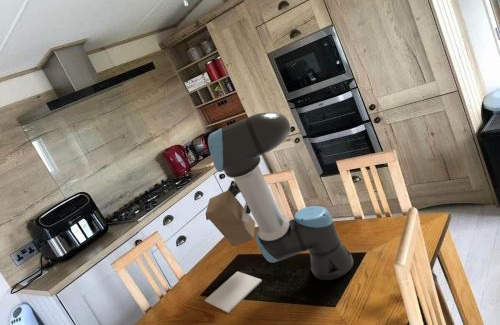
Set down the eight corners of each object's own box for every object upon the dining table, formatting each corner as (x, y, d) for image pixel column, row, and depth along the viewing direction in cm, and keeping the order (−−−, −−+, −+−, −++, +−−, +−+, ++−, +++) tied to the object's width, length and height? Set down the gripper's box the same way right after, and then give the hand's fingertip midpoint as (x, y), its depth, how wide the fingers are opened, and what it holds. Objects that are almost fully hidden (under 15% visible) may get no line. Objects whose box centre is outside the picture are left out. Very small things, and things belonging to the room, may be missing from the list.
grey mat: (262, 280, 143) (261, 279, 143) (228, 313, 133) (227, 311, 133) (237, 272, 156) (237, 271, 155) (205, 301, 146) (204, 300, 146)
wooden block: (254, 239, 148) (225, 205, 139) (233, 247, 152) (204, 215, 143) (255, 222, 156) (229, 189, 147) (236, 230, 160) (209, 198, 151)
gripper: (271, 172, 147) (260, 224, 143) (235, 173, 167) (224, 219, 163) (257, 166, 143) (245, 220, 138) (221, 168, 163) (210, 215, 158)
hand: (234, 220), depth 151 cm, fingers closed on wooden block, 13 cm apart
